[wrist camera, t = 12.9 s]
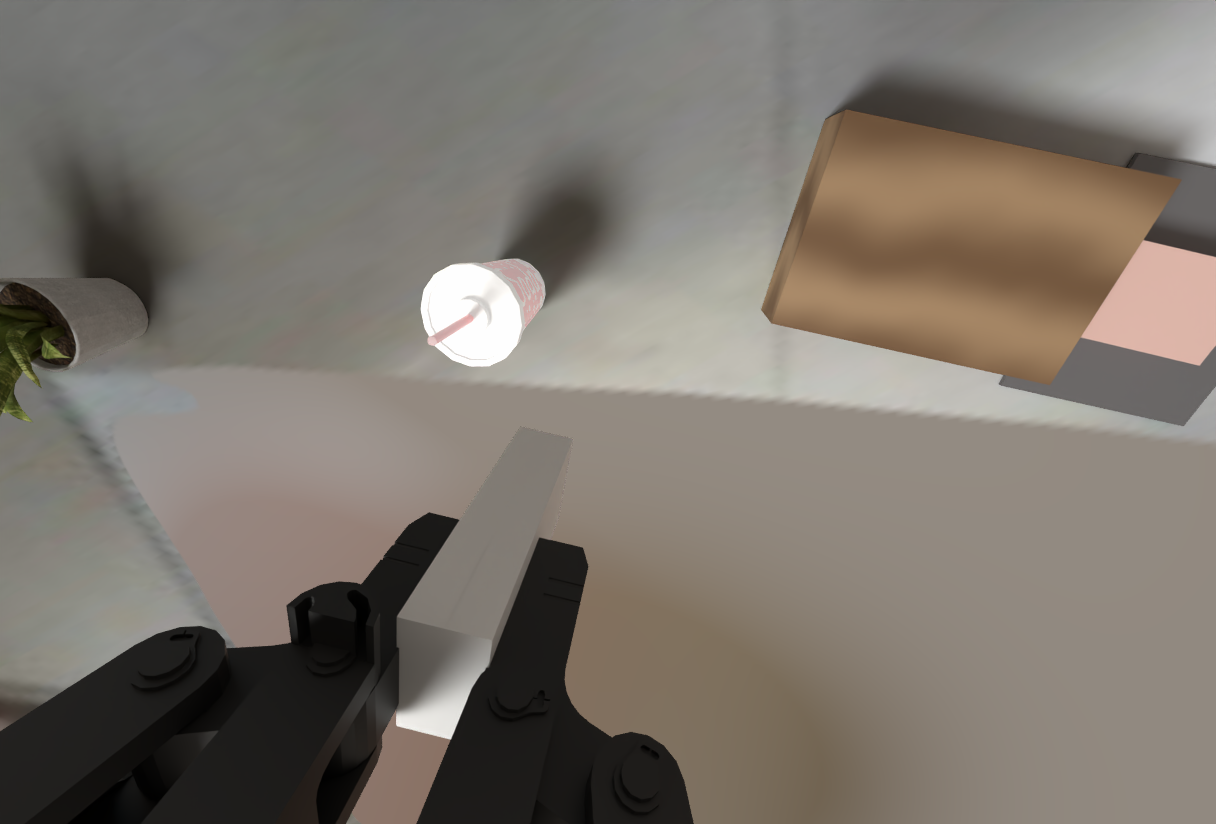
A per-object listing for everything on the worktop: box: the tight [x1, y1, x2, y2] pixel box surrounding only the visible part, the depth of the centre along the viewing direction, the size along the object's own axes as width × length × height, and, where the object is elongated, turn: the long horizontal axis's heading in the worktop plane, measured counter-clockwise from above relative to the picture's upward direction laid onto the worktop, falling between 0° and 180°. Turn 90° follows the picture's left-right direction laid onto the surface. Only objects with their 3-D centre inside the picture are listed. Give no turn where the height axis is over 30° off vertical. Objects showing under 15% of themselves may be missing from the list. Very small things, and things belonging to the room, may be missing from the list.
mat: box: [999, 153, 1216, 426], centre depth 31 cm, size 15×13×1 cm
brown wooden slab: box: [761, 110, 1182, 385], centre depth 30 cm, size 12×18×4 cm, turn 79°
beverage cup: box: [421, 259, 546, 366], centre depth 30 cm, size 6×6×14 cm
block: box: [1081, 240, 1216, 366], centre depth 30 cm, size 6×9×2 cm, turn 78°
